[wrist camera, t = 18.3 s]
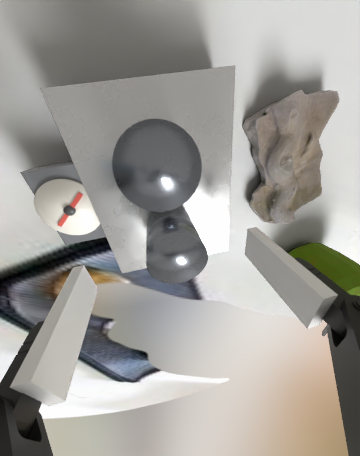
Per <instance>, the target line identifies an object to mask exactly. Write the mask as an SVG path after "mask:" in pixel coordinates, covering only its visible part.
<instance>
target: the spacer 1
mask: <svg viewBox="0 0 360 456" xmlns="http://www.w3.org/2000/svg"><path fill="white" fill-rule="evenodd" d="M112 169H113V174H114V178H115V181H116V183H117V185H118V187H119V189H120V190H121V192H122V193H123V194H124V196H125V197H126V198H127V199H128V200H129V201H131V202H132V203H133V204H135V205H136V206H138V207H140V208H142V209H145V210H148V211H154V212H164V211H170V210H173V209H175V208H178V207H180V206H181V205H183V204H184V203H186V202H187V201H188V200H189V199H190V198H191V197H192V195H193V194H194V193H195V191H196V189H197V187H198V185H199V182H200V179H201V173H202V161H201V156H200V153H199V150H198V147H197V145H196V143H195V142H194V140H193V138H192V137H191V136H190V135H189V134H188V133H187V132H186V131H185V130H184V129H183V128H181V127H180V126H179V125H177V124H175V123H173V122H170V121H167V120H163V119H146V120H143V121H139V122H137V123H135V124H133V125H132V126H130V127H129V128H128V129H127V130H126V131H125V132H124V133H123V134H122V135H121V137H120V138H119V139H118V141H117V143H116V146H115V148H114V152H113V157H112Z"/></svg>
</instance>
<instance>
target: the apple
mask: <svg viewBox="0 0 360 456" xmlns="http://www.w3.org/2000/svg"><path fill="white" fill-rule="evenodd" d="M288 254H289V255H290V256H292V257H293V258H298V257H299V258H301V259H303V260H305V261H307V262H309V263H310V264H311V265H313V266H314V267H315V268H316V269H318V270H319V271H320V272H322V274H324V275H326V276H327V277H328V278H329V279H331V280H332V281H333V282H335V283H336V284H337V285H338V286H340V287H341V288H342V289H344V290H345V291H346V292H348V293H349V294H350V295H357V296H360V265H359V264H357V263H356V262H354V261H353V260H351V259H349V258H348V257H346V256H344V255H343V254H341V253H339V252H337V251H335V250H333V249H331V248H329V247H327V246H325V245H323V244H320V243H310V244H307V245H304V246H301V247H297V248H295V249H293V250H292V251H290V252H289V253H288Z"/></svg>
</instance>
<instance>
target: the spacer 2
mask: <svg viewBox="0 0 360 456" xmlns="http://www.w3.org/2000/svg"><path fill="white" fill-rule="evenodd" d="M207 260H208V252H207V249H206V247H205V245H204V243H203V241H202V239H201V237H200V235H199V233H198V231H197V229H196V227H195V225H194V223H193V221H192V219H191V217H190V216H189V214H188V212H187V211H186V210H185V209H184V208H182V207H178V208H175V209H173V210H170V211H164V212H154V211H153V212H152V213H151V214H150V215H149V217H148V220H147V235H146V266H147V269H148V272H149V273H150V274H151V276H152V277H154V278H155V279H157V280H159V281H161V282H164V283H181V282H185V281H188V280H190V279H192V278H194V277H195V276H197V275H198V274H199V273H200V272H201V271H202V270H203V269H204V267H205V266H206V263H207Z"/></svg>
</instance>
